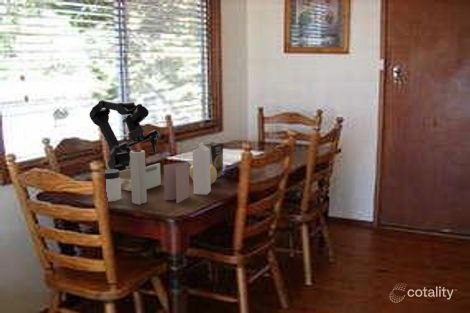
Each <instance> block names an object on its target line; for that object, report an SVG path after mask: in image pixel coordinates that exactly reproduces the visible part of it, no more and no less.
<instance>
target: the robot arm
mask: <svg viewBox="0 0 470 313" xmlns="http://www.w3.org/2000/svg"><path fill="white" fill-rule="evenodd" d="M111 111H114V112H115V111H116V113H118V114H120V115H122V116H124V117H123V120H122V123H123V124H126V126H127V129H128V133H127V134H128V137H129V139H130V141H131V142H127V141H124V142H122V143H119V140H118V138H117V136H116V135H115V132H114V130H113V129H112V127H111V125H110V122H109V121H110V120H109V119H110V113H111ZM149 114H150V113H149V110H148V108H146V107H145V106H143V104H142V103H137V104H135V102H133V101H125V102H122V101H121V102H120V101H116V100H112V99H111V100H110V99H100V100H99V101H98V103H97V104H95V105H94V106H93V107H92V108H91V110H90V111H89V118H90V119H91V121H92V123H93V124H94V125H96V126H97V127H98V128H99V129H100V132H101V134H102V135H103V137H104V139H105V142H106V143H107V145H108V147H109V149H110V155H109V157H110V159H109V161H108V162H107V164H108V168H109V169H116V170H119V171H123V170H126V169H127V167H129V166H130V151H133V149H131V148H132V147H133V146H136V145H138V144H140V143H143V142H146V141H148V140H150V143H151V147H152V150H153V153H154V155H156V154H157V142H158V141H159V139H160V138H161V137H162V136H161V134H160V132H159V131H158V130H157V129H152V130H151V131H148V133H147V135H145V134H144V133H145V129H144V127H143V126H142V125H141V124H140V123H142V122H143V120H145V119H146V118H147V117H149ZM125 115H127V116H125Z"/></svg>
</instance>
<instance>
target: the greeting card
mask: <svg viewBox="0 0 470 313" xmlns="http://www.w3.org/2000/svg"><path fill="white" fill-rule="evenodd" d="M163 184H164V188H163V189H164V201H172V200H176V204H178V203H180V202H183V201H184V200H186V199H188V198H190V166H189V161H186V162H185V161H184V162H178V163H170V164H164V165H163Z"/></svg>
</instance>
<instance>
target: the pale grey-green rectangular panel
mask: <svg viewBox="0 0 470 313" xmlns="http://www.w3.org/2000/svg"><path fill="white" fill-rule="evenodd" d="M145 167H146V190H149V189H153V188H155V187H158V186H161V185H162V182H161V180H162V179H161V162H159V163H154V164H150V165H148V166H145Z"/></svg>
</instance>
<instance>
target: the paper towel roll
mask: <svg viewBox="0 0 470 313" xmlns="http://www.w3.org/2000/svg"><path fill="white" fill-rule="evenodd" d="M129 155H130V162H129V166H130V168H131V189H132V191H131V203H132V204H135V205H139V206H141V204H145V203H147V202H148V200H147V199H148V197H147V196H148V194H147V189H146V167H147V166H146V152H145V150H143V149H134V150H133V149H132V151H130V154H129Z"/></svg>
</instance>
